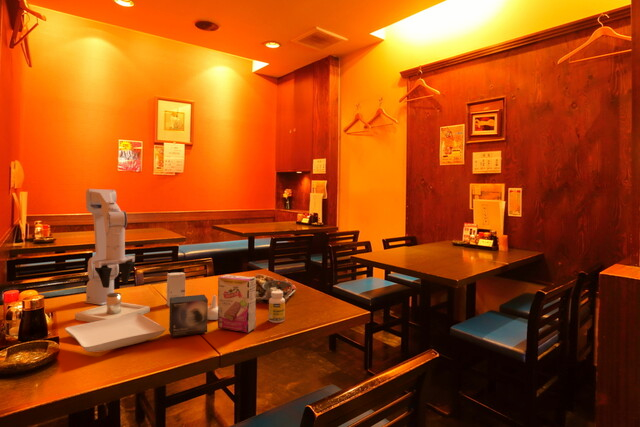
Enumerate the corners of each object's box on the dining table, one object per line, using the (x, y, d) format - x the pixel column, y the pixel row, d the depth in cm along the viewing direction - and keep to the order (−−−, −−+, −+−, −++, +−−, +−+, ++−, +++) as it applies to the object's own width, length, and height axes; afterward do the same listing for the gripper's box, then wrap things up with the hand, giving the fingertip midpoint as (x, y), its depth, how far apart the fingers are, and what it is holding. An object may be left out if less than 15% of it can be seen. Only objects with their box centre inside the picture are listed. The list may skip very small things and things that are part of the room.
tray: (74, 319, 123) (74, 313, 123) (116, 306, 138) (116, 301, 138) (110, 325, 118) (110, 319, 118) (149, 311, 133) (149, 306, 133)
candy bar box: (216, 328, 117) (217, 277, 116) (225, 324, 121) (226, 274, 121) (248, 333, 113) (248, 280, 113) (256, 328, 118) (256, 276, 117)
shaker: (103, 313, 127) (103, 294, 127) (114, 310, 131) (114, 292, 131) (113, 315, 125) (113, 296, 125) (124, 311, 129) (124, 293, 129)
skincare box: (168, 307, 139) (168, 275, 139) (166, 304, 143) (166, 273, 142) (185, 305, 142) (185, 273, 142) (182, 302, 146) (183, 271, 146)
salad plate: (139, 322, 123) (139, 311, 123) (167, 339, 108) (167, 327, 108) (63, 338, 108) (63, 326, 108) (83, 361, 93) (83, 347, 93)
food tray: (312, 296, 161) (312, 272, 160) (297, 314, 136) (297, 285, 135) (236, 291, 168) (237, 268, 167) (208, 307, 143) (209, 279, 142)
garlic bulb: (206, 315, 130) (206, 292, 130) (224, 315, 131) (224, 293, 130) (201, 321, 124) (201, 297, 124) (219, 321, 124) (219, 297, 124)
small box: (171, 338, 108) (171, 302, 108) (168, 331, 114) (168, 297, 114) (208, 332, 113) (208, 298, 113) (204, 326, 119) (204, 293, 119)
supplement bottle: (272, 324, 122) (272, 294, 122) (266, 319, 127) (266, 290, 127) (287, 321, 125) (287, 292, 124) (280, 317, 129) (281, 289, 129)
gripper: (105, 249, 120) (105, 290, 121) (141, 244, 134) (141, 281, 135) (89, 247, 123) (89, 288, 123) (126, 243, 137) (126, 280, 137)
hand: (115, 285), depth 129 cm, fingers open, 7 cm apart
